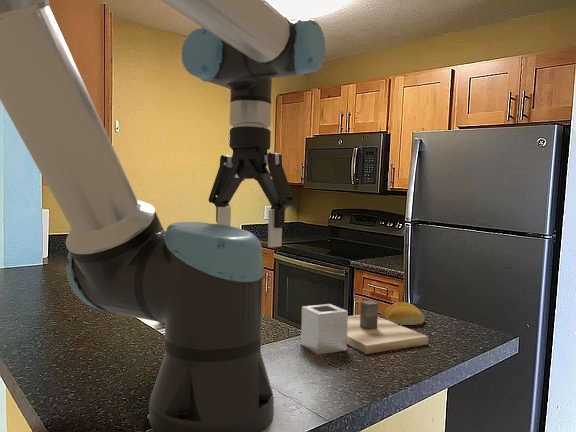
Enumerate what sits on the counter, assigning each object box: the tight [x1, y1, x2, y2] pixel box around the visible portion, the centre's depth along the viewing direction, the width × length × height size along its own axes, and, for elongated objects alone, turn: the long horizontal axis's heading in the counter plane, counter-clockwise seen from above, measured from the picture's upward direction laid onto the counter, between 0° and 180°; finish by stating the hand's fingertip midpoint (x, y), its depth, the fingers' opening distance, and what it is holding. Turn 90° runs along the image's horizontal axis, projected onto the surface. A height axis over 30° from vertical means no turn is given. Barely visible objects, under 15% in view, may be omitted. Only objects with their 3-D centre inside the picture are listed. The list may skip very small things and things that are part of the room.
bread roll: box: [384, 301, 425, 326], centre depth 105 cm, size 8×9×4 cm
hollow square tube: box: [300, 303, 349, 355], centre depth 85 cm, size 6×6×7 cm
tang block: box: [347, 300, 429, 355], centre depth 93 cm, size 18×14×6 cm
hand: (247, 243), depth 88 cm, fingers open, 13 cm apart
